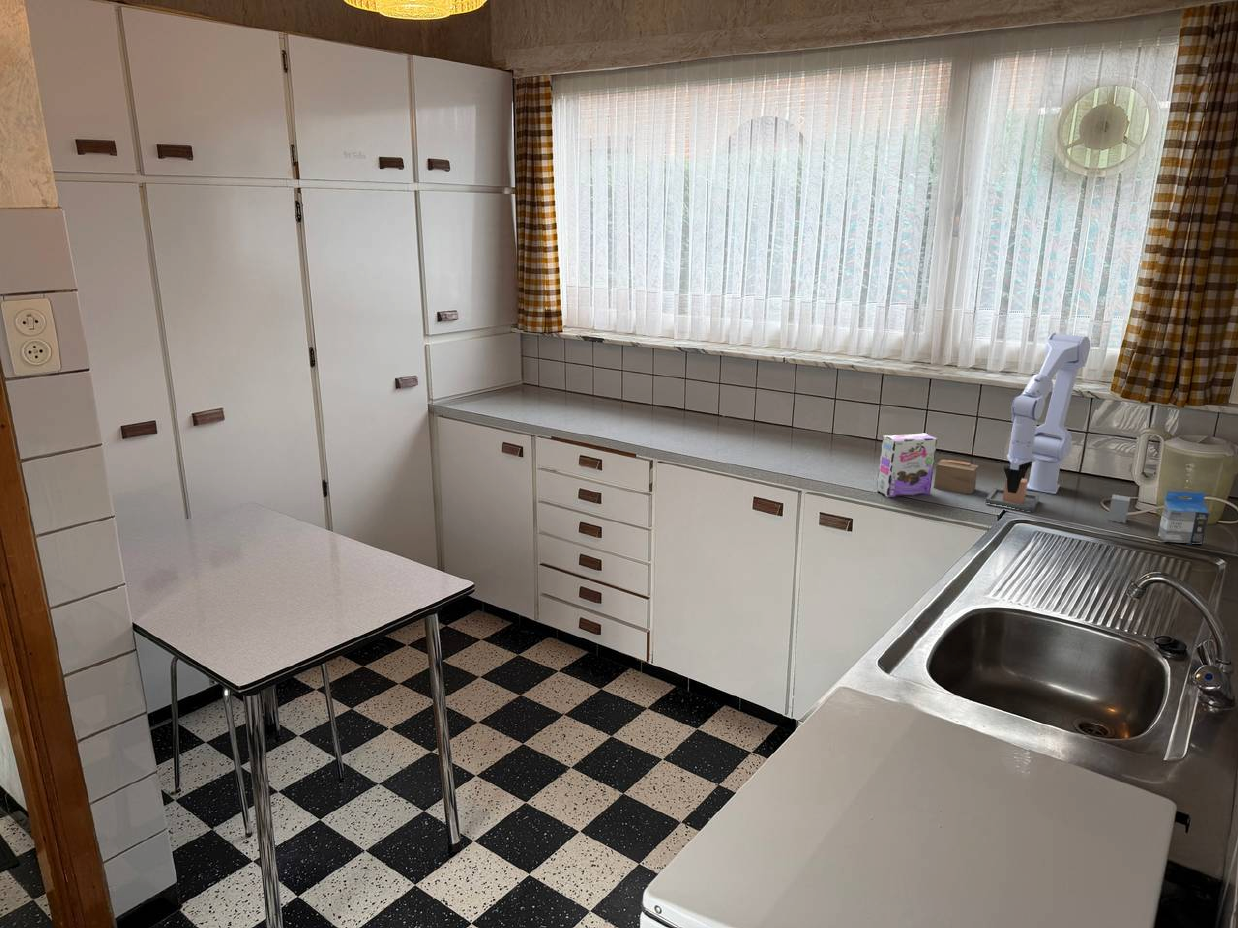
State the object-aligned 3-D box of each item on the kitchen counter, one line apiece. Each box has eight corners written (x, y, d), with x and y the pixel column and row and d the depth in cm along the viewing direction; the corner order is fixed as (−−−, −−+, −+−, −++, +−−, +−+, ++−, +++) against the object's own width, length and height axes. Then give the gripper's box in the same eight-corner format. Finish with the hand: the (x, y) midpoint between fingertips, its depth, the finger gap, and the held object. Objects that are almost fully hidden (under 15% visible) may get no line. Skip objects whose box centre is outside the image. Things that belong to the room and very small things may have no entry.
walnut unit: (939, 482, 254) (942, 458, 252) (975, 488, 249) (978, 463, 247) (933, 487, 249) (937, 463, 247) (970, 494, 244) (974, 469, 242)
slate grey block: (1108, 516, 229) (1112, 494, 227) (1126, 519, 227) (1130, 497, 225) (1107, 520, 226) (1111, 498, 224) (1125, 523, 224) (1129, 501, 222)
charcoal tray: (993, 493, 245) (994, 488, 245) (1038, 501, 239) (1039, 495, 239) (985, 504, 236) (986, 498, 235) (1032, 513, 230) (1033, 507, 229)
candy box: (887, 498, 239) (893, 440, 235) (875, 491, 245) (881, 434, 240) (930, 494, 243) (938, 437, 238) (918, 488, 248) (925, 432, 244)
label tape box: (1163, 543, 211) (1174, 495, 207) (1156, 537, 214) (1166, 490, 211) (1203, 546, 209) (1214, 497, 206) (1194, 540, 213) (1205, 492, 210)
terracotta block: (1005, 496, 240) (1008, 475, 238) (1024, 500, 237) (1028, 479, 236) (1002, 500, 237) (1005, 479, 235) (1022, 504, 234) (1025, 482, 232)
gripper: (1034, 448, 224) (1026, 498, 228) (1042, 437, 236) (1034, 484, 240) (1005, 444, 228) (997, 493, 232) (1014, 433, 240) (1007, 480, 244)
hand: (1014, 488), depth 236 cm, fingers open, 7 cm apart
